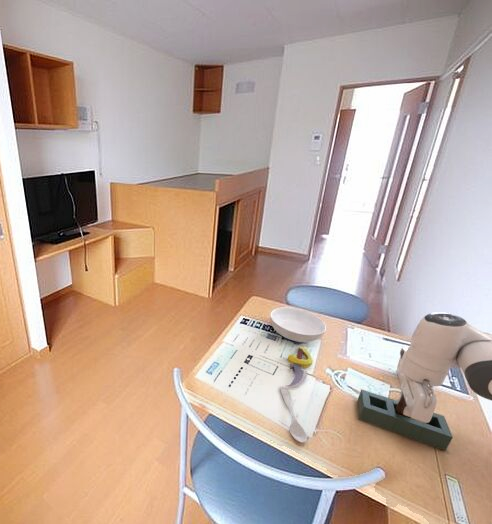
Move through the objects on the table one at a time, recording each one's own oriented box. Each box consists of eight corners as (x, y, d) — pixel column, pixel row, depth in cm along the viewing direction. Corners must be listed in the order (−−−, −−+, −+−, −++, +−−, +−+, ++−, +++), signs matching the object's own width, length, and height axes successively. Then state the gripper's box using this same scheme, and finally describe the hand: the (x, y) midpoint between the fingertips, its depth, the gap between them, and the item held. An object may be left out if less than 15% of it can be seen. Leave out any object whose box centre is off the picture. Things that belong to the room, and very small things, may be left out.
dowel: (405, 416, 87) (417, 390, 84) (407, 425, 85) (420, 398, 81) (391, 412, 89) (403, 385, 85) (393, 420, 86) (405, 393, 82)
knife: (304, 397, 96) (313, 354, 116) (306, 391, 95) (315, 348, 115) (278, 387, 100) (291, 346, 119) (280, 380, 99) (292, 341, 118)
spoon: (292, 445, 81) (293, 440, 81) (276, 387, 100) (277, 383, 99) (309, 448, 80) (310, 443, 80) (289, 389, 99) (290, 385, 99)
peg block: (437, 428, 86) (444, 415, 84) (445, 450, 80) (453, 437, 78) (356, 401, 95) (361, 389, 93) (358, 419, 89) (363, 406, 87)
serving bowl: (327, 354, 116) (332, 339, 113) (269, 343, 122) (272, 328, 119) (316, 324, 134) (320, 311, 131) (266, 316, 140) (268, 303, 137)
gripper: (451, 401, 70) (429, 443, 75) (428, 351, 87) (411, 388, 92) (416, 390, 73) (397, 431, 78) (400, 344, 89) (385, 380, 95)
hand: (404, 408), depth 85 cm, fingers closed on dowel, 3 cm apart
